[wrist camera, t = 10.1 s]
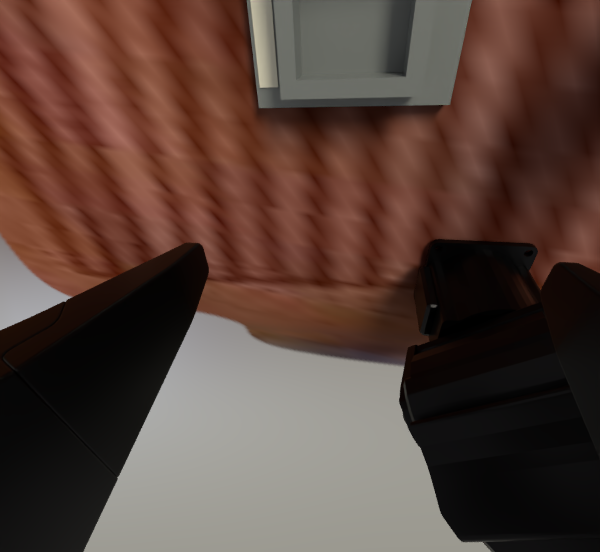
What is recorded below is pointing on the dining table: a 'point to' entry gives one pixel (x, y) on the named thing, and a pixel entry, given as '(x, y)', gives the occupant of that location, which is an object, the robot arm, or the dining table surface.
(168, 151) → the dining table surface
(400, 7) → the socket block
